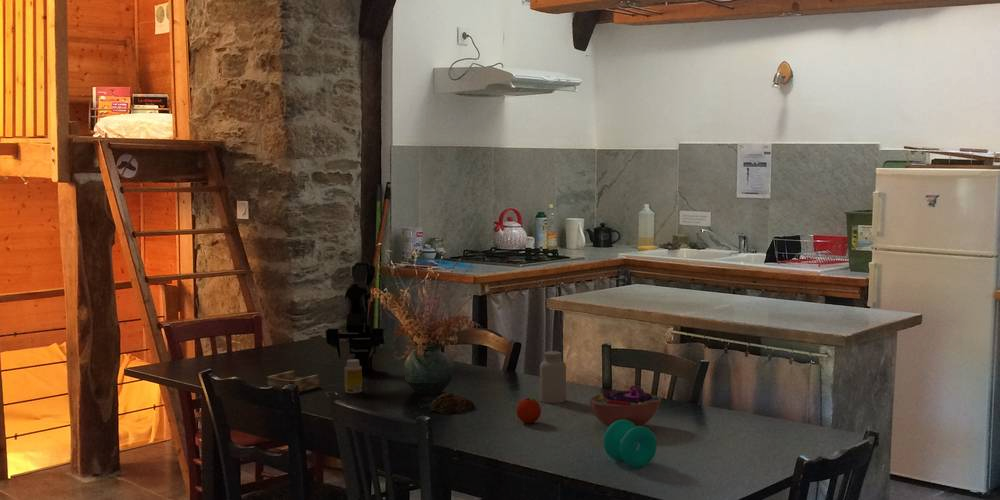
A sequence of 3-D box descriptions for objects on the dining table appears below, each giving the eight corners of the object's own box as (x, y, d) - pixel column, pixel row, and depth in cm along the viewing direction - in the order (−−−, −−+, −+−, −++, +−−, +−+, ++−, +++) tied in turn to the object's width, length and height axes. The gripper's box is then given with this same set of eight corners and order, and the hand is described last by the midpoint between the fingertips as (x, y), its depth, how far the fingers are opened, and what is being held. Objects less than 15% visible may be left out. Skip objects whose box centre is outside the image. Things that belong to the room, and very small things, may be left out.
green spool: (634, 455, 256) (634, 416, 255) (659, 465, 247) (659, 425, 246) (601, 461, 251) (601, 421, 251) (624, 472, 243) (625, 430, 242)
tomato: (538, 418, 293) (538, 393, 292) (548, 424, 286) (548, 399, 286) (512, 421, 290) (512, 396, 289) (521, 427, 283) (521, 401, 283)
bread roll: (445, 402, 313) (445, 386, 313) (479, 407, 307) (479, 391, 306) (420, 412, 302) (420, 395, 302) (456, 417, 296) (455, 400, 295)
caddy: (292, 382, 341) (292, 370, 341) (319, 386, 334) (319, 374, 334) (265, 389, 331) (265, 376, 331) (292, 393, 325) (292, 381, 324)
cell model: (578, 423, 287) (579, 383, 286) (642, 417, 294) (642, 378, 293) (606, 438, 271) (606, 396, 270) (672, 431, 278) (672, 390, 277)
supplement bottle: (365, 392, 327) (365, 360, 326) (350, 394, 323) (349, 362, 322) (356, 389, 331) (355, 357, 330) (341, 391, 327) (340, 359, 327)
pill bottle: (535, 402, 312) (535, 353, 311) (546, 397, 319) (546, 349, 318) (559, 405, 308) (559, 355, 307) (570, 399, 316) (570, 351, 314)
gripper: (325, 303, 333) (322, 343, 323) (383, 303, 334) (381, 342, 324) (329, 324, 342) (325, 363, 331) (385, 323, 342) (383, 362, 332)
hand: (353, 357), depth 330 cm, fingers open, 9 cm apart
